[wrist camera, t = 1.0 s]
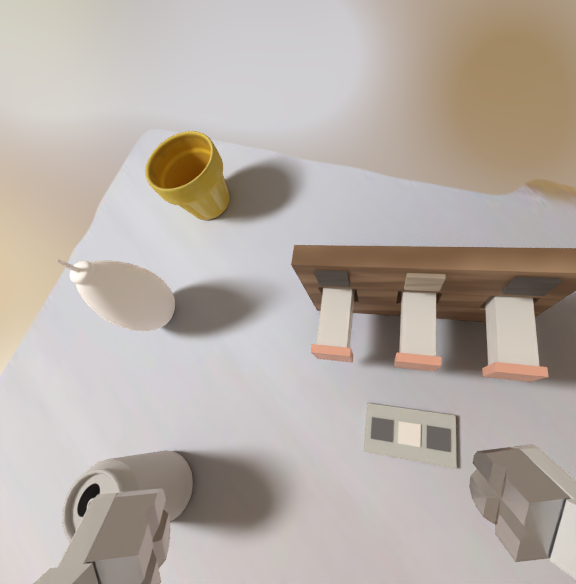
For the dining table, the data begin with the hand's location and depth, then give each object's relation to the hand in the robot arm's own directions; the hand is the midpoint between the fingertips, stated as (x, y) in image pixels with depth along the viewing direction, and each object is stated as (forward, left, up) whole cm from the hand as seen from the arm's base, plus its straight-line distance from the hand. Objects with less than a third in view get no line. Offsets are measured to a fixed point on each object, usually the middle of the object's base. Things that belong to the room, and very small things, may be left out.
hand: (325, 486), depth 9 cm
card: (+1, -4, -31) cm, 31 cm away
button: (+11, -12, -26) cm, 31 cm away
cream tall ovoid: (+12, +30, -31) cm, 44 cm away
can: (-9, +23, -31) cm, 39 cm away
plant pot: (+31, +27, -31) cm, 51 cm away
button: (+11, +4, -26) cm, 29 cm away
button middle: (+11, -4, -26) cm, 29 cm away
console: (+17, -4, -31) cm, 35 cm away
